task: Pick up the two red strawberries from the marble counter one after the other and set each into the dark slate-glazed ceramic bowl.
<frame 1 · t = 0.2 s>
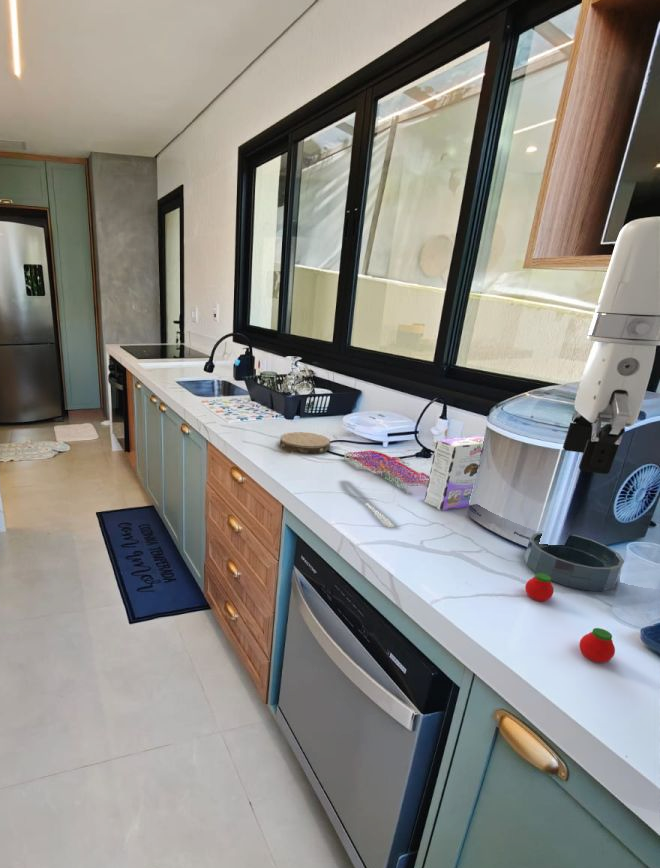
hand: (583, 460, 69), 27 cm above the countertop, tool pointing down, fingers open, 9 cm apart
speckled fish figure: (390, 476, 141), on the countertop
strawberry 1: (536, 599, 86), on the countertop
candy box: (453, 505, 124), on the countertop
bowl: (567, 572, 95), on the countertop
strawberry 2: (592, 658, 72), on the countertop
butter knife: (364, 504, 122), on the countertop
wooden disc: (304, 448, 164), on the countertop
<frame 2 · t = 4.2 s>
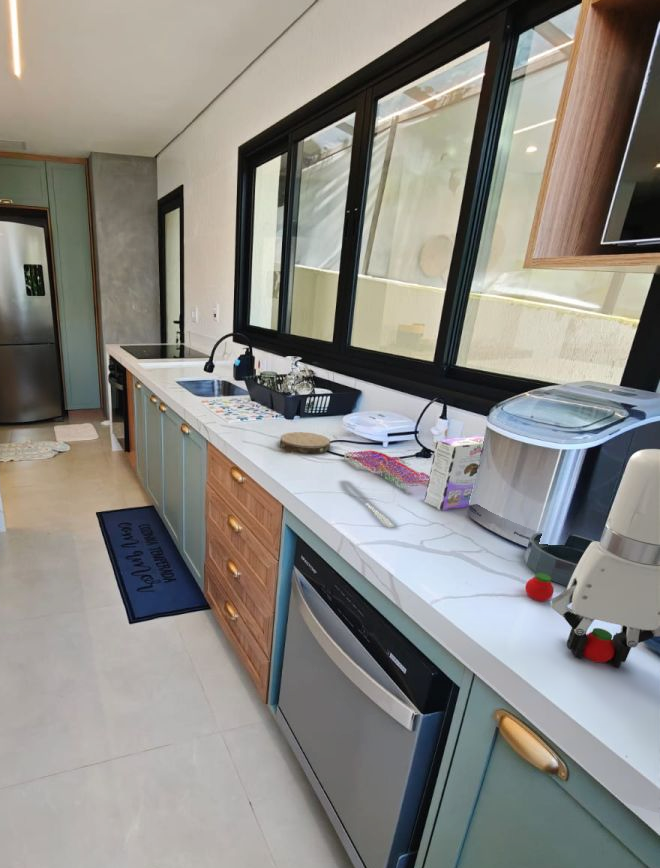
hand: (593, 657, 72), 0 cm above the countertop, tool pointing down, fingers closed on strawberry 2, 3 cm apart
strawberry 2: (592, 658, 72), on the countertop, touching gripper
everything else where it was.
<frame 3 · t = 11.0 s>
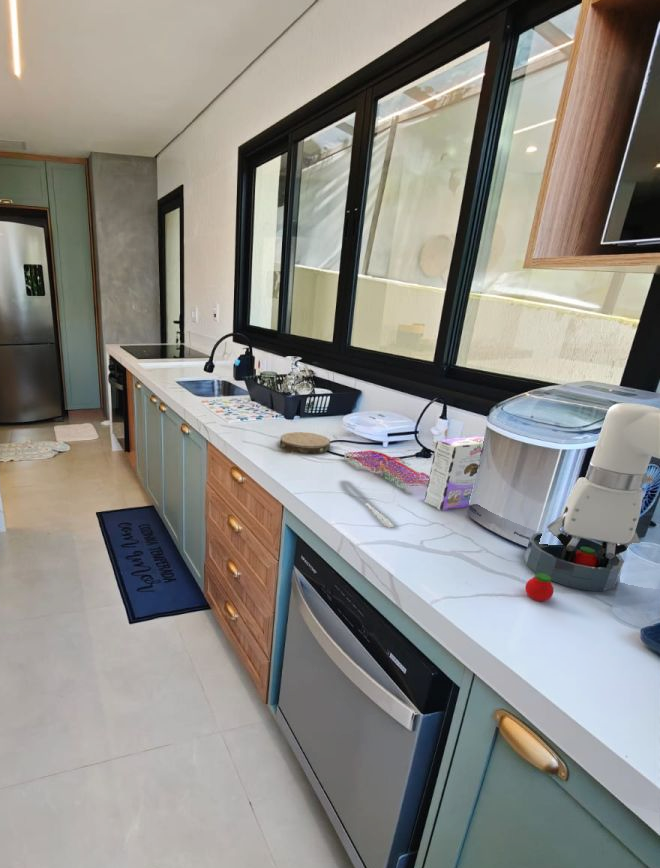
hand: (580, 569, 92), 2 cm above the countertop, tool pointing down, fingers closed on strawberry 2, 3 cm apart
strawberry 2: (579, 571, 92), point 1 cm above the countertop, touching gripper
everything else where it was.
when the fingers open (4 cm above the countertop, at t = 20.7 s): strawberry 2 drops 3 cm, resting on bowl.
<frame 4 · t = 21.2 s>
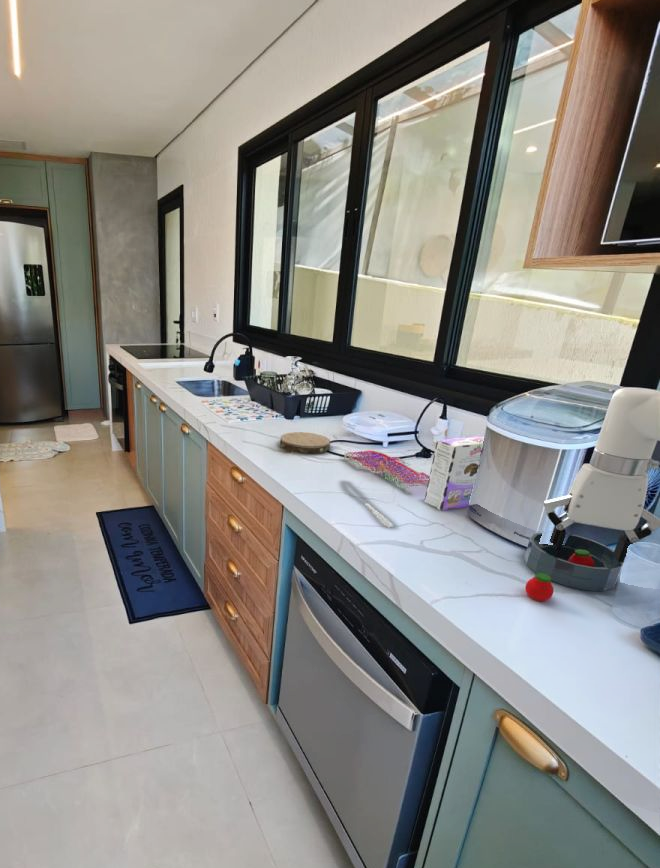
hand: (586, 552, 91), 5 cm above the countertop, tool pointing down, fingers open, 9 cm apart
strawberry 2: (580, 574, 92), point 1 cm above the countertop, tilted 11°, touching bowl
everything else where it was.
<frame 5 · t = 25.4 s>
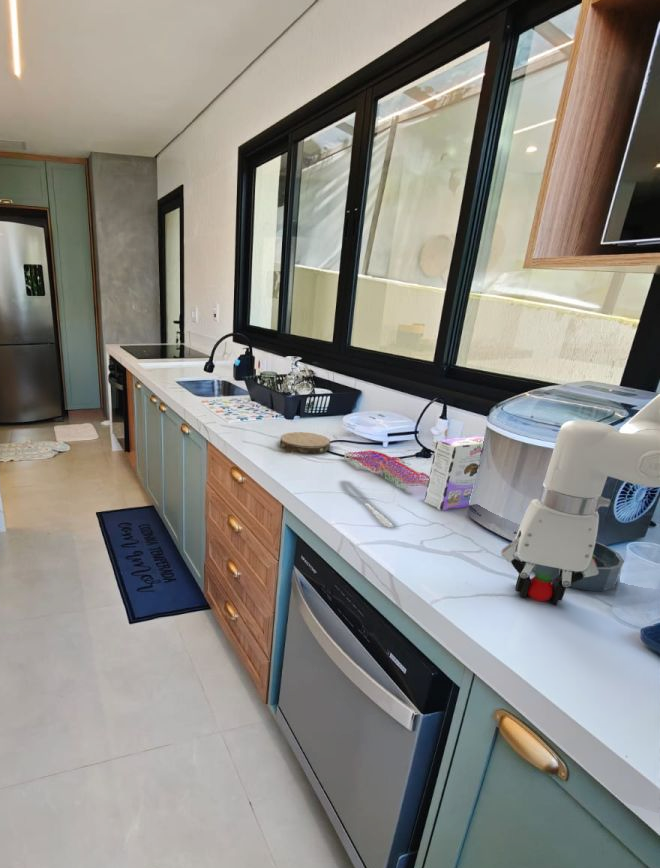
hand: (536, 597, 86), 0 cm above the countertop, tool pointing down, fingers closed on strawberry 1, 3 cm apart
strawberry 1: (536, 599, 86), on the countertop, touching gripper
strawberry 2: (579, 575, 92), point 1 cm above the countertop, touching bowl
everything else where it was.
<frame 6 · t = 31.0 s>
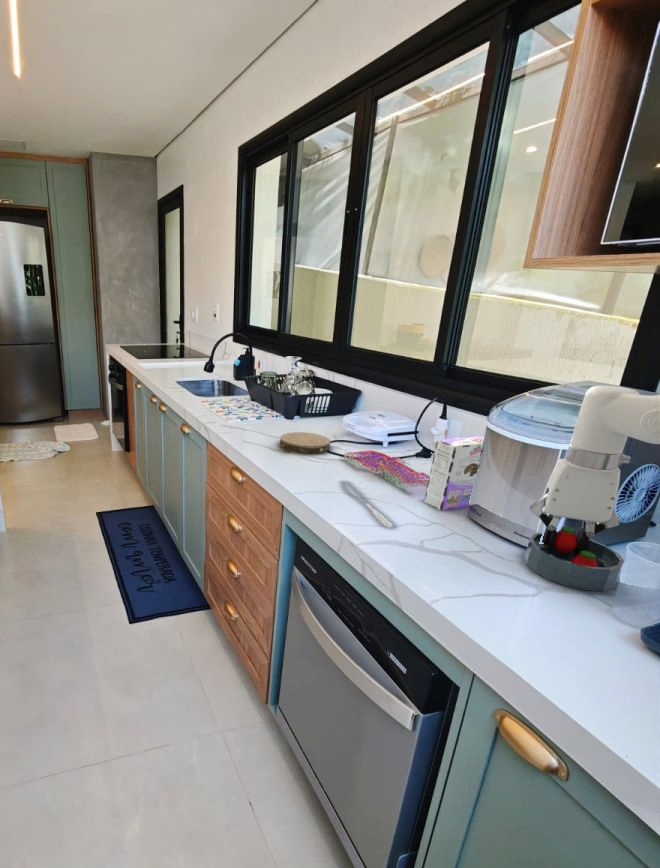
hand: (561, 549, 95), 4 cm above the countertop, tool pointing down, fingers closed on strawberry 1, 3 cm apart
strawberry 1: (561, 550, 95), point 4 cm above the countertop, touching gripper
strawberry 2: (580, 575, 92), point 1 cm above the countertop, touching gripper
everything else where it was.
when the fingers open (4 cm above the countertop, at t = 33.6 s): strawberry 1 drops 3 cm, resting on bowl.
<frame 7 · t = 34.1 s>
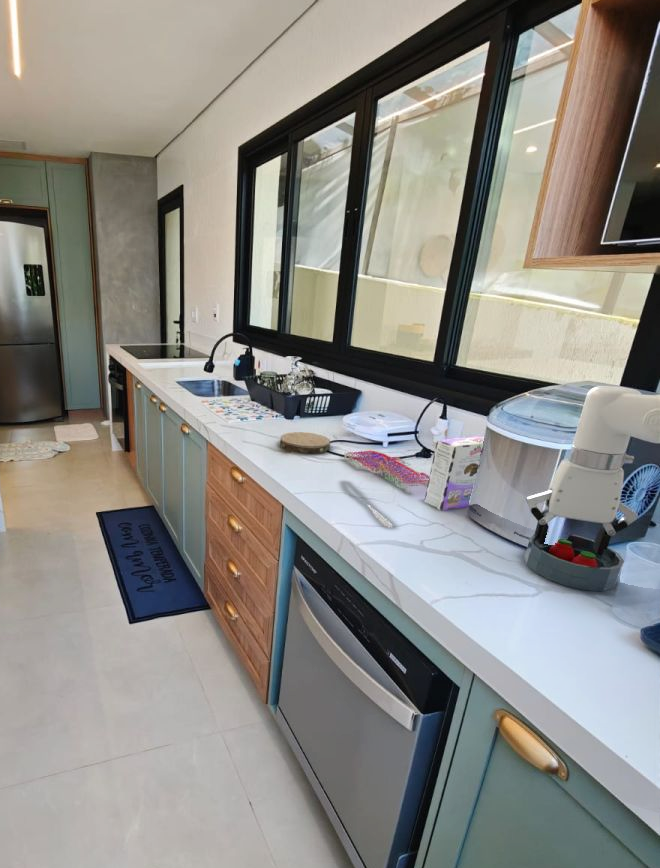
hand: (568, 546, 94), 5 cm above the countertop, tool pointing down, fingers open, 8 cm apart
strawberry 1: (558, 563, 96), point 1 cm above the countertop, tilted 9°, touching bowl
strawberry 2: (580, 575, 92), point 1 cm above the countertop, touching bowl
everything else where it was.
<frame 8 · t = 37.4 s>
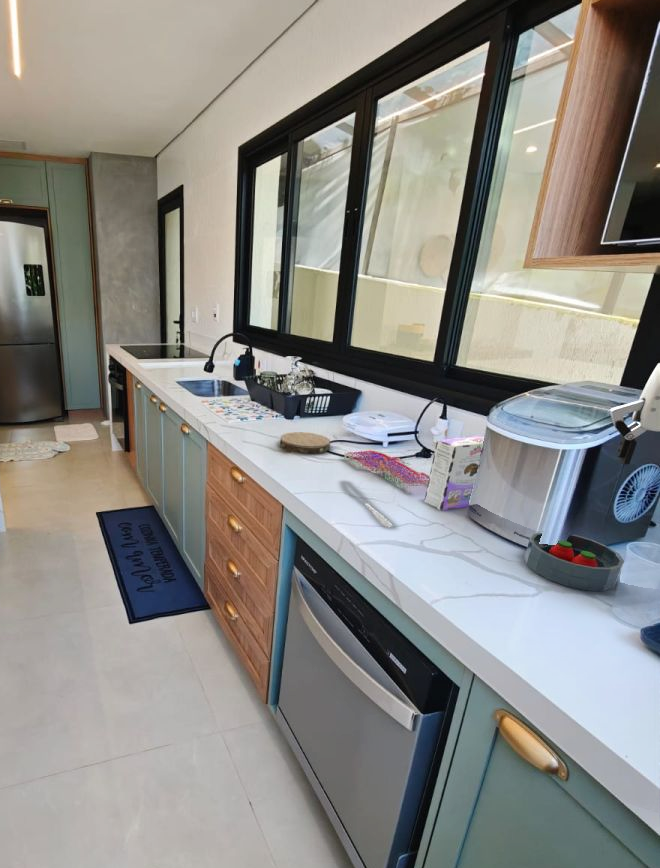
hand: (659, 466, 80), 23 cm above the countertop, tool pointing down, fingers open, 9 cm apart
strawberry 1: (558, 564, 96), point 1 cm above the countertop, touching bowl
everything else where it was.
at the end: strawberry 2 inside the target area in the bowl (2.2 cm from its centre), point 0.6 cm above the bowl's base; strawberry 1 inside the target area in the bowl (2.1 cm from its centre), point 0.6 cm above the bowl's base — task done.
